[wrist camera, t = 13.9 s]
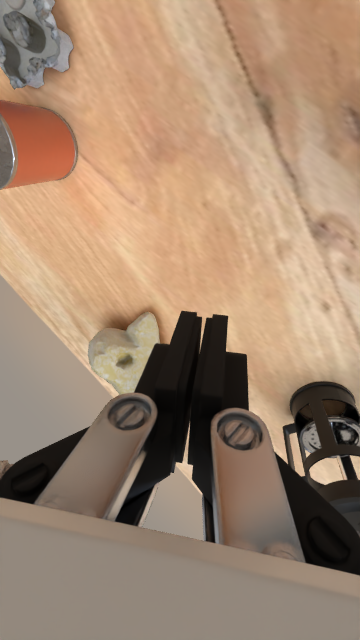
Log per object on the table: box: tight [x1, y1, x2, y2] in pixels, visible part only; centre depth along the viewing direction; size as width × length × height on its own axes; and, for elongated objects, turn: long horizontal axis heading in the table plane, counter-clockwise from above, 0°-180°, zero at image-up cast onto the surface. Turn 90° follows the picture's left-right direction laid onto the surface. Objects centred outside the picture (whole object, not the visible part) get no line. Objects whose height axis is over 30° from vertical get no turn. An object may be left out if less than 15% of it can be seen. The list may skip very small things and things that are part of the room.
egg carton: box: [0, 0, 73, 89], centre depth 26 cm, size 11×8×4 cm
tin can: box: [0, 100, 78, 190], centre depth 29 cm, size 7×7×11 cm
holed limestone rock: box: [88, 312, 160, 395], centre depth 44 cm, size 15×7×15 cm
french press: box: [283, 382, 360, 532], centre depth 36 cm, size 12×9×23 cm
